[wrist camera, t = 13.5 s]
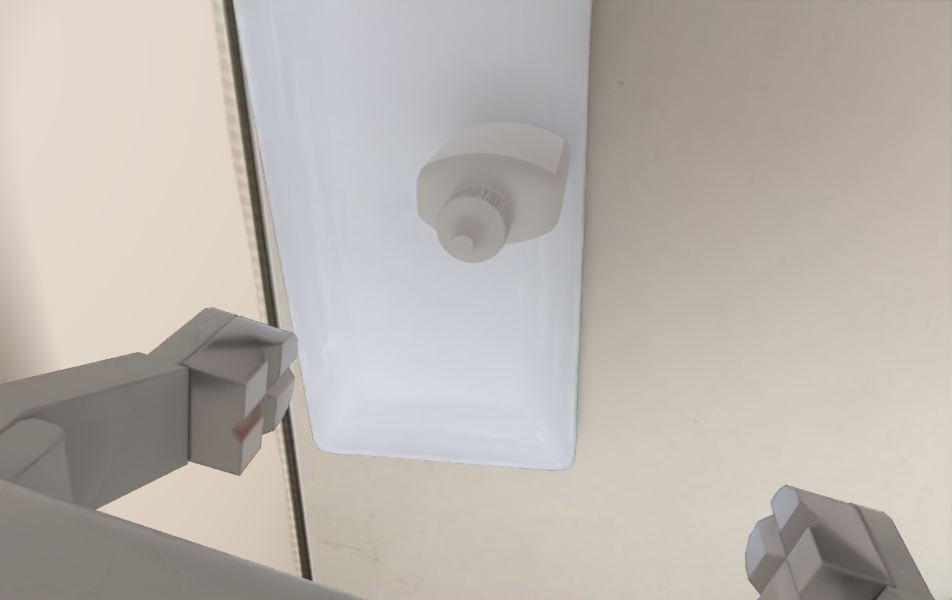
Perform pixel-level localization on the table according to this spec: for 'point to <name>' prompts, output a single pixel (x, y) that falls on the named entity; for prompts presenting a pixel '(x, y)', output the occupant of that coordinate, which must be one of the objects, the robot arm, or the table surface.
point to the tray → (420, 222)
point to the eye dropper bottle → (494, 187)
